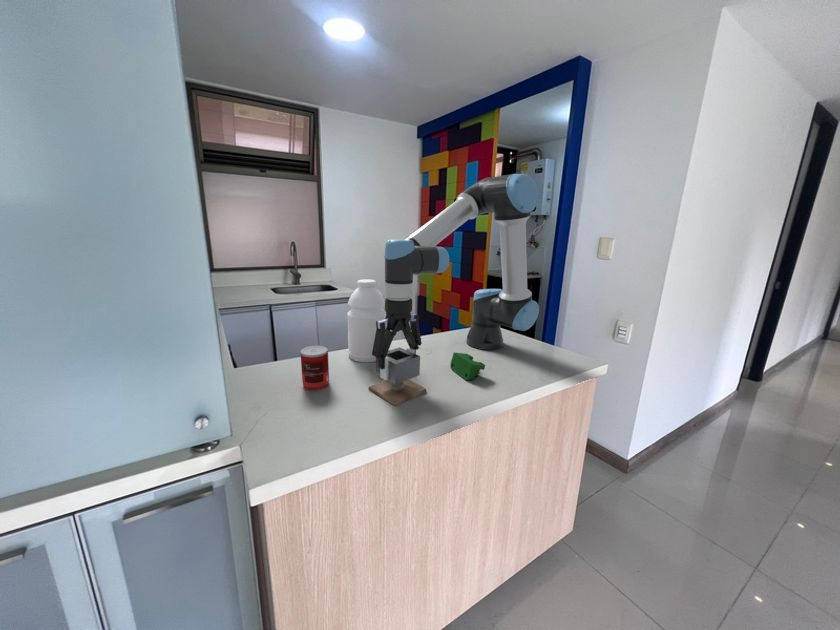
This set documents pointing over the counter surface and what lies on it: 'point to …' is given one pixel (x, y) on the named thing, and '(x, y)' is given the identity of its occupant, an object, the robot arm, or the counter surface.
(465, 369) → the clamp
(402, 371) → the ring
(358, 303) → the bottle
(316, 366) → the canned food
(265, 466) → the counter surface
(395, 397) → the post
